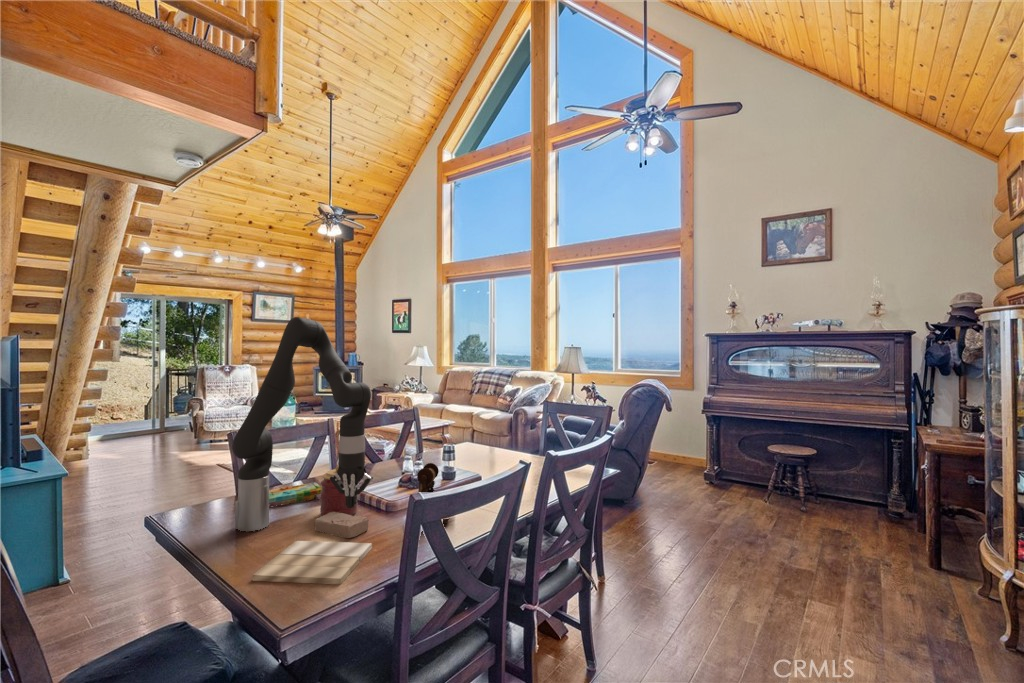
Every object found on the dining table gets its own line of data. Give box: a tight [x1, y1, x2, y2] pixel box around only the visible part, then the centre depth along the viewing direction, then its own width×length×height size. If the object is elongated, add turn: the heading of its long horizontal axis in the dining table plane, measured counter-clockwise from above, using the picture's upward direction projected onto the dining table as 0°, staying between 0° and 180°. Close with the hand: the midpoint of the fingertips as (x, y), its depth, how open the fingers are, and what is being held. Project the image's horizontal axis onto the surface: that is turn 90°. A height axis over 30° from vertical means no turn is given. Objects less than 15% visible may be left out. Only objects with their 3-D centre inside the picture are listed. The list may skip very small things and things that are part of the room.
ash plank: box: [279, 540, 373, 563], centre depth 139 cm, size 24×9×2 cm, turn 85°
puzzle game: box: [269, 482, 322, 507], centre depth 187 cm, size 12×5×20 cm
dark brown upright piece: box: [416, 462, 450, 524], centre depth 162 cm, size 15×15×20 cm
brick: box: [314, 512, 369, 539], centre depth 156 cm, size 17×8×5 cm, turn 65°
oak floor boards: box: [251, 553, 360, 585], centre depth 128 cm, size 24×12×2 cm, turn 85°
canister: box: [319, 465, 359, 517], centre depth 172 cm, size 13×13×18 cm
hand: (351, 507), depth 140 cm, fingers closed
